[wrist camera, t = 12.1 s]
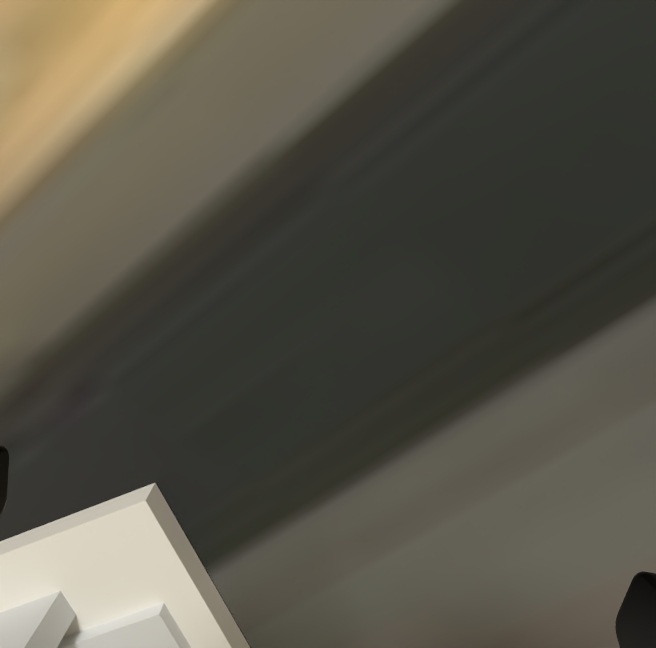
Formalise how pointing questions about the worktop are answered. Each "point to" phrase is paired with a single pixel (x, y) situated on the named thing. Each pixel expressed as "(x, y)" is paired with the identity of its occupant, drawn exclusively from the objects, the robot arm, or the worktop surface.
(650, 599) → the robot arm
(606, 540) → the worktop surface
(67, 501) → the worktop surface
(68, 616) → the rail mount
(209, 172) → the worktop surface
